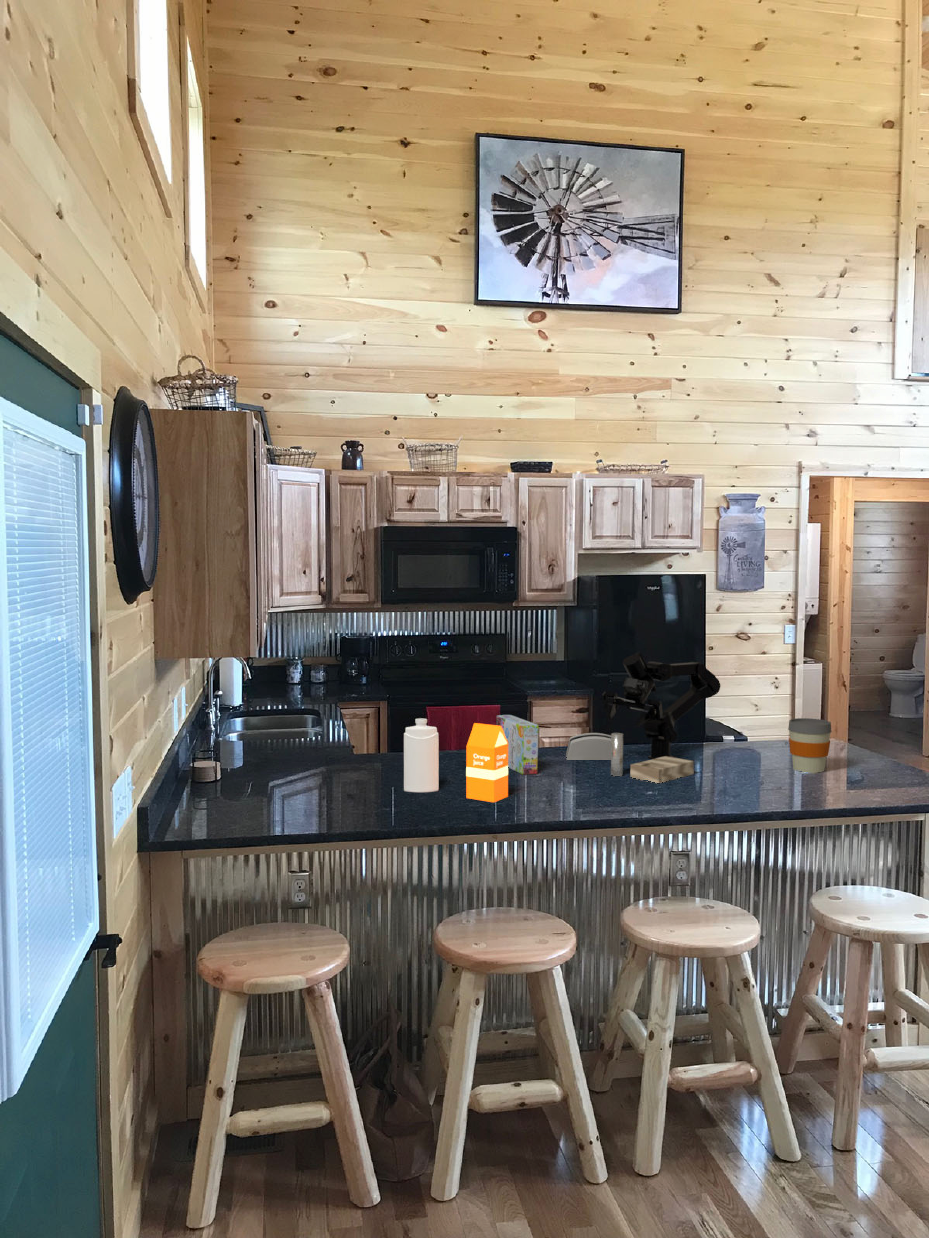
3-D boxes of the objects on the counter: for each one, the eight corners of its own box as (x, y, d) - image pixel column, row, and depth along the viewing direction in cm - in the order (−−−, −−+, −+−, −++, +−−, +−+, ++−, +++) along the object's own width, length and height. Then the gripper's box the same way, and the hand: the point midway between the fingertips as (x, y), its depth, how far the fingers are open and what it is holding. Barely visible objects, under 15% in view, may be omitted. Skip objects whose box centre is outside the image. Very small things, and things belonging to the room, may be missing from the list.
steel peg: (615, 773, 297) (616, 732, 296) (625, 775, 294) (625, 733, 294) (608, 775, 294) (608, 733, 294) (617, 777, 292) (618, 735, 291)
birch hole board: (665, 768, 303) (665, 755, 303) (693, 774, 296) (693, 760, 296) (630, 777, 291) (630, 764, 291) (658, 783, 284) (658, 770, 283)
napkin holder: (615, 757, 321) (618, 730, 317) (618, 764, 316) (620, 737, 312) (564, 757, 320) (566, 730, 316) (566, 765, 315) (568, 738, 311)
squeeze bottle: (403, 788, 277) (403, 792, 272) (403, 717, 276) (403, 721, 271) (438, 787, 278) (438, 792, 273) (438, 717, 276) (438, 720, 271)
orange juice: (493, 802, 262) (494, 728, 261) (465, 797, 267) (466, 724, 265) (508, 796, 269) (508, 723, 267) (480, 792, 273) (481, 720, 272)
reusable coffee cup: (817, 776, 294) (818, 726, 293) (779, 769, 303) (780, 721, 302) (838, 770, 302) (839, 721, 301) (800, 763, 311) (801, 716, 310)
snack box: (539, 774, 296) (539, 724, 295) (522, 775, 294) (522, 725, 293) (510, 760, 316) (510, 713, 315) (494, 761, 314) (494, 714, 313)
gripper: (610, 665, 310) (590, 697, 300) (666, 675, 301) (648, 708, 291) (614, 692, 317) (595, 724, 307) (669, 703, 307) (652, 736, 297)
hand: (622, 722), depth 300 cm, fingers open, 9 cm apart
